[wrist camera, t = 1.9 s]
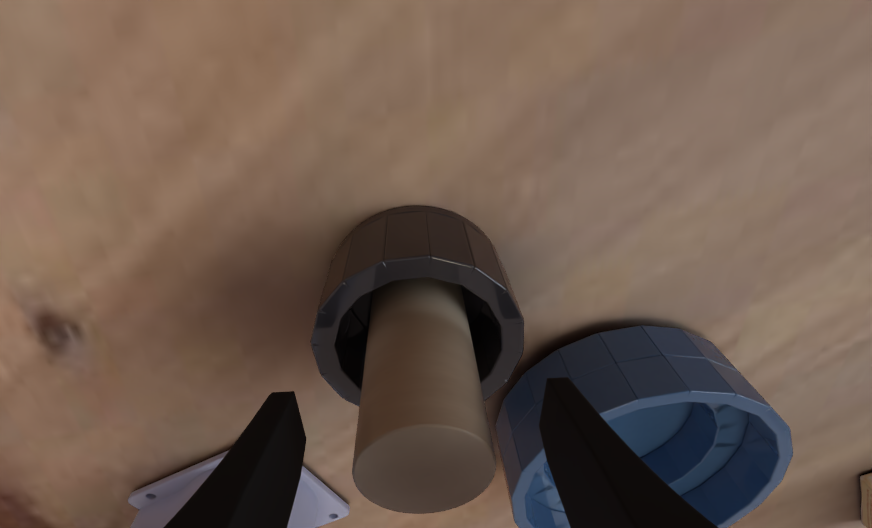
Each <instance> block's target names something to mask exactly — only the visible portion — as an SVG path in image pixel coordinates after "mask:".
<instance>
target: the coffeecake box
mask: <svg viewBox="0 0 872 528" xmlns="http://www.w3.org/2000/svg"><path fill="white" fill-rule="evenodd" d="M860 484H861V493H862V502H861V519H862V524H863V525H865V526H866V527H867V528H872V473H869V474H866V475H862V476H860Z"/></svg>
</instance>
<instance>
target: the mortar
mask: <svg viewBox="0 0 872 528" xmlns="http://www.w3.org/2000/svg"><path fill="white" fill-rule="evenodd" d="M427 277H428V278H433V279H437V280H441V281H446V282H450V283H454V284H459V285H461V289H462V294H463V299H464V304H465V309H466V314H467V319H468V324H469V329H470V334H471V339H472V344H473V349H474V354H475V358H476V363H477V368H478V373H479V378H480V383H481V388H482V393H483V398H484V401H485V400H486V399H487V398H489V397H490V396H491V395H492V394H493V393H495V392H496V391H497V390H498V389H499V388H501V387H502V386H503V385H504V384H505V383H507V381H508V380H509V378H510V376H511V374H512V372H513V371H514V369H515V367H516V365H517V363H518V361H519V359H520V358H521V356H522V353H523V346H524V318H523V316H522V313H521V310H520V308H519V305H518V303H517V300H516V297H515V295H514V292H513V290H512V287H511V284H510V282H509V279H508V277H507V274H506V271H505V269H504V267H503V265H502V263H501V261H500V259H499V256H498V254H497V252H496V249H495V247H494V246H493V244H492V243H491V241H490V239H489V238H488V237H487V236H486V235H485V234H484V232H483V231H482V230H480V229H479V228H478V227H477V226H476V225H475V224H473V223H472V222H470V221H469V220H467V219H466V218H464V217H462V216H460V215H458V214H456V213H453V212H450V211H447V210H444V209H440V208H435V207H427V206H406V207H400V208H394V209H391V210H388V211H384V212H381V213H379V214H377V215H375V216H372V217H370V218H369V219H367V220H366V221H364V222H362V223H361V224H360V225H358V226H357V227H356V228H355V229H353V230H352V231H351V232H350V233H349V234H348V236H347V237H346V238H345V239H344V240H343V242H342V243H341V245H340V246H339V248H338V250H337V252H336V254H335V256H334V258H333V260H332V262H331V265H330V269H329V272H328V276H327V279H326V282H325V286H324V289H323V293H322V296H321V299H320V303H319V306H318V310H317V314H316V318H315V323H314V328H313V332H312V337H311V341H310V342H311V347H312V350H313V353H314V356H315V359H316V363H317V366H318V369H319V372H320V374H321V376H322V377H323V378H324V379H325V380H326V381H327V382H328V383H329V385H330V386H331V387H332V388H333V389H334V390H335V391H336V392H337V393H338V394H339V395H340V396H341V397H342V398H344V399H345V400H346V401H348V402H351V403H353V404H355V405H357V406H359V407H360V398H361V390H362V381H363V373H364V364H365V355H366V347H367V338H368V329H369V321H370V312H371V303H372V295H373V290H375V289H377V288H379V287H382V286H384V285H386V284H388V283H390V282H392V281H399V280H408V279H418V278H427Z"/></svg>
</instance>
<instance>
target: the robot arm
mask: <svg viewBox="0 0 872 528" xmlns="http://www.w3.org/2000/svg"><path fill="white" fill-rule="evenodd" d="M539 429H540V433H541V438H542V442H543V446H544V451H545V455H546V459H547V462H548V465H549V468H550V471H551V474H552V477H553V480H554V483H555V485H556V488H557V491H558V494H559V497H560V500H561V502H562V505H563V508H564V511H565V514H566V516H567V519H568V522H569V525H570V528H718V527H717V526H716V525H714V524H713V523H712V522H711V521H709V520H708V519H707V518H706V517H704V516H703V515H702V514H701V513H700V512H698V511H697V510H696V509H695V508H694V507H692V506H691V505H690V504H689V503H688V502H686V501H685V500H684V499H683V498H682V497H681V496H680V495H679V494H677V493H676V492H675V491H674V490H673V489H672V488H671V487H670V486H669V485H667V484H666V483H665V482H664V481H663V480H662V479H661V478H660V477H659V476H658V475H657V474H656V473H655V472H654V471H653V470H652V469H651V468H650V467H649V466H648V465H647V464H646V463H645V462H644V461H642V460H641V459H640V458H639V457H638V456H637V455H636V453H635V452H634V451H633V450H632V449H631V448H630V447H629V446H628V445H627V444H626V443H625V442H624V441H623V440H622V439H621V438H620V437H619V435H618V434H617V433H616V432H615V431H614V430H613V429H612V428H611V427H610V426H609V425H608V423H607V422H606V421H605V420H604V419H603V418H602V417H601V415H600V414H599V413H598V412H597V411H596V410H595V408H594V407H593V406H592V405H591V404H590V403H589V401H588V400H587V399H586V398H585V397H584V395H583V394H582V393H581V392H580V391H579V389H578V388H577V387H576V386H575V384H574V383H573V382H572V381H571V380H570V379H569V378H568V377H560V378H547V381H546V387H545V392H544V398H543V404H542V410H541V416H540V422H539ZM305 444H306V436H305V432H304V428H303V424H302V420H301V416H300V412H299V408H298V405H297V401H296V397H295V393H294V391H291V392H272V393H271V394H270V395H269V396H268V398H267V399H266V401H265V402H264V403H263V405H262V406H261V408H260V409H259V411H258V412H257V413H256V415H255V416H254V418H253V419H252V421H251V422H250V423H249V425H248V426H247V427H246V429H245V430H244V432H243V433H242V434H241V436H240V437H239V438H238V440H237V441H236V442H235V444H234V445H233V446H232V447H231V449H230V450H228V451H226V452H223V453H221V454H219V455H217V456H214V457H212V458H210V459H207V460H205V461H203V462H200V463H198V464H196V465H193V466H191V467H189V468H187V469H184V470H182V471H180V472H177V473H175V474H173V475H170V476H168V477H166V478H163V479H161V480H159V481H157V482H154V483H152V484H150V485H147V486H145V487H143V488H140V489H138V490H136V491H133V492H132V493H131V494H130V496H129V498H128V502H129V504H130V505H132V506H134V507H135V508H137V509H139V511H138V513H137V515H136V517H135V519H134V521H133V523H132V525H131V527H130V528H316V527H319V526H322V525H325V524H327V523H330V522H333V521H335V520H338V519H341V518H343V517H346V516H347V515H348V514H349V505H348V504H347V503H346V502H344V501H343V500H342V499H341V498H340V497H339V496H337V495H336V494H335V493H334V492H333V491H332V490H330V489H329V488H328V487H327V486H326V485H325V484H323V483H322V482H321V481H320V480H319V479H318V478H316V477H315V476H314V475H313V474H312V473H311V472H310V471H308V470H307V469H306V468H305V467H304V466H303V458H304V451H305Z"/></svg>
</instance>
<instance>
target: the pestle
mask: <svg viewBox="0 0 872 528" xmlns="http://www.w3.org/2000/svg"><path fill="white" fill-rule="evenodd" d="M495 470H496V458H495V453H494V448H493V443H492V438H491V433H490V428H489V423H488V418H487V413H486V408H485V403H484V398H483V393H482V388H481V383H480V378H479V373H478V368H477V363H476V358H475V354H474V349H473V344H472V339H471V334H470V329H469V324H468V319H467V314H466V309H465V304H464V299H463V294H462V289H461V285H459V284H454V283H450V282H446V281H441V280H437V279H433V278H428V277H427V278H418V279H408V280H399V281H392V282H390V283H388V284H386V285H384V286H382V287H379V288H377V289H375V290H373V295H372V303H371V312H370V321H369V329H368V338H367V347H366V355H365V364H364V373H363V381H362V390H361V398H360V407H359V416H358V424H357V433H356V442H355V450H354V459H353V468H352V474H353V479H354V482H355V484H356V487H357V488H358V490H359V491H360V492H361V493H362V494H363V495H364V496H365V497H366V498H367V499H368V500H370V501H371V502H373V503H375V504H377V505H379V506H381V507H383V508H386V509H389V510H393V511H397V512H403V513H414V514H424V513H434V512H441V511H445V510H449V509H452V508H456V507H458V506H461V505H463V504H465V503H467V502H469V501H471V500H473V499H474V498H476V497H477V496H478V495H480V494H481V493H482V492H483V491H484V490H485V489H486V488H487V487H488V486H489V484H490V483H491V481H492V479H493V477H494V474H495Z"/></svg>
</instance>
